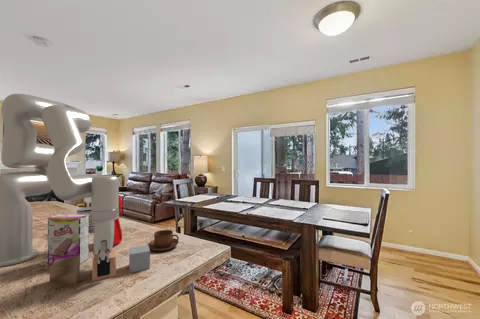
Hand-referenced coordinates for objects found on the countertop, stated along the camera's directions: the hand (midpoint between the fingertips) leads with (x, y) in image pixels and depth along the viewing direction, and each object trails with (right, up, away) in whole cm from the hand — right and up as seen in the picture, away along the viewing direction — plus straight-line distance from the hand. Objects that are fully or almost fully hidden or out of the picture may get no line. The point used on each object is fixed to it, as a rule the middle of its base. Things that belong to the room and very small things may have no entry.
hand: (104, 268), depth 70 cm
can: (-33, -2, +42) cm, 54 cm away
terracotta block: (0, -2, 0) cm, 2 cm away
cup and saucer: (+11, -2, +22) cm, 24 cm away
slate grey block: (+9, -2, +5) cm, 10 cm away
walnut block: (-9, -2, -5) cm, 10 cm away
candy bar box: (-18, -2, +8) cm, 19 cm away
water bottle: (-12, -2, +24) cm, 27 cm away
